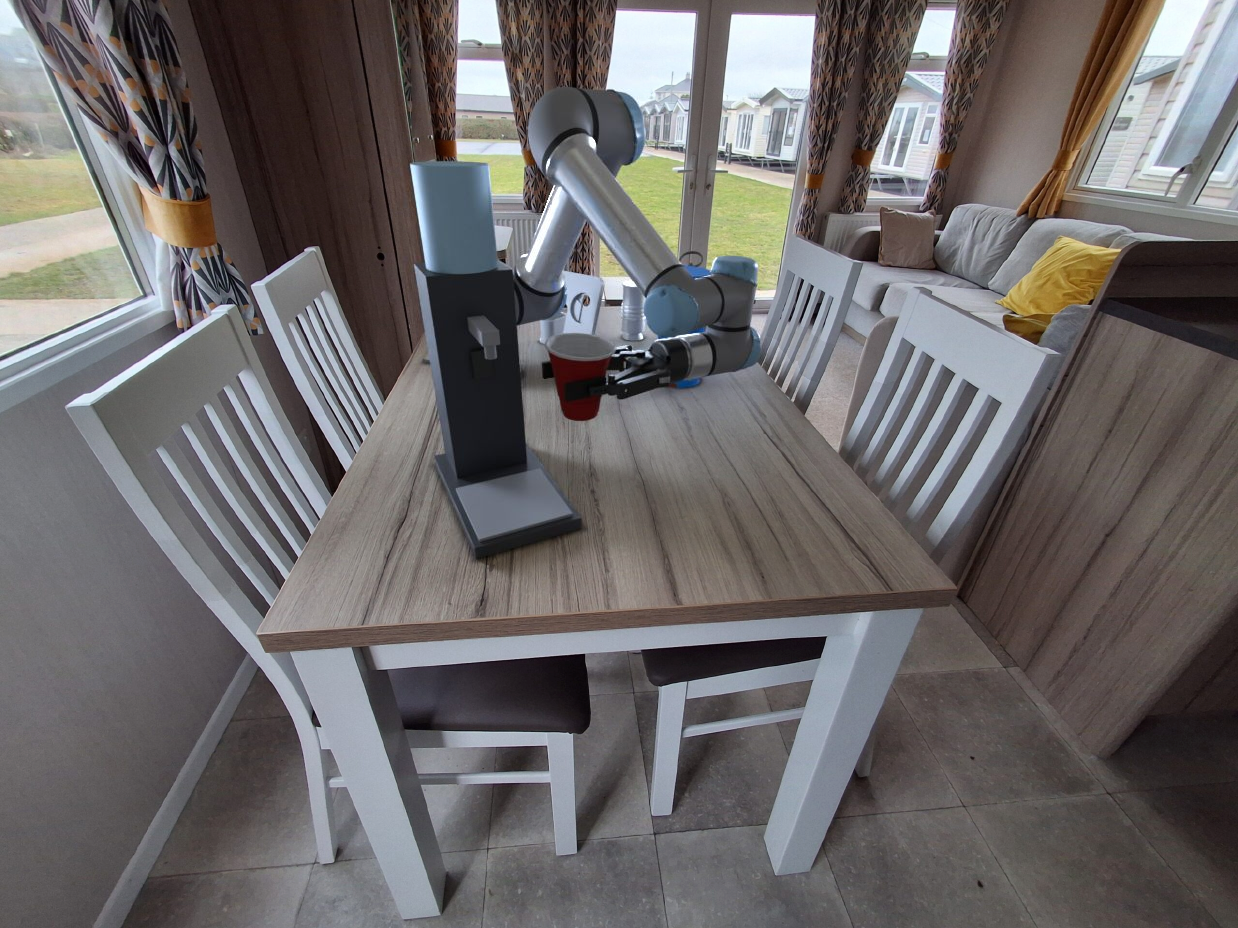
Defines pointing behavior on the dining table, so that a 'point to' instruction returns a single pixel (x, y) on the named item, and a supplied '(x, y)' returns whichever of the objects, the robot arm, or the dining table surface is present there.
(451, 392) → the water dispenser
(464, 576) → the dining table surface
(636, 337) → the silver ribbed cylinder
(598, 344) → the plastic cup
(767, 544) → the dining table surface
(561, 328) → the phone holder
